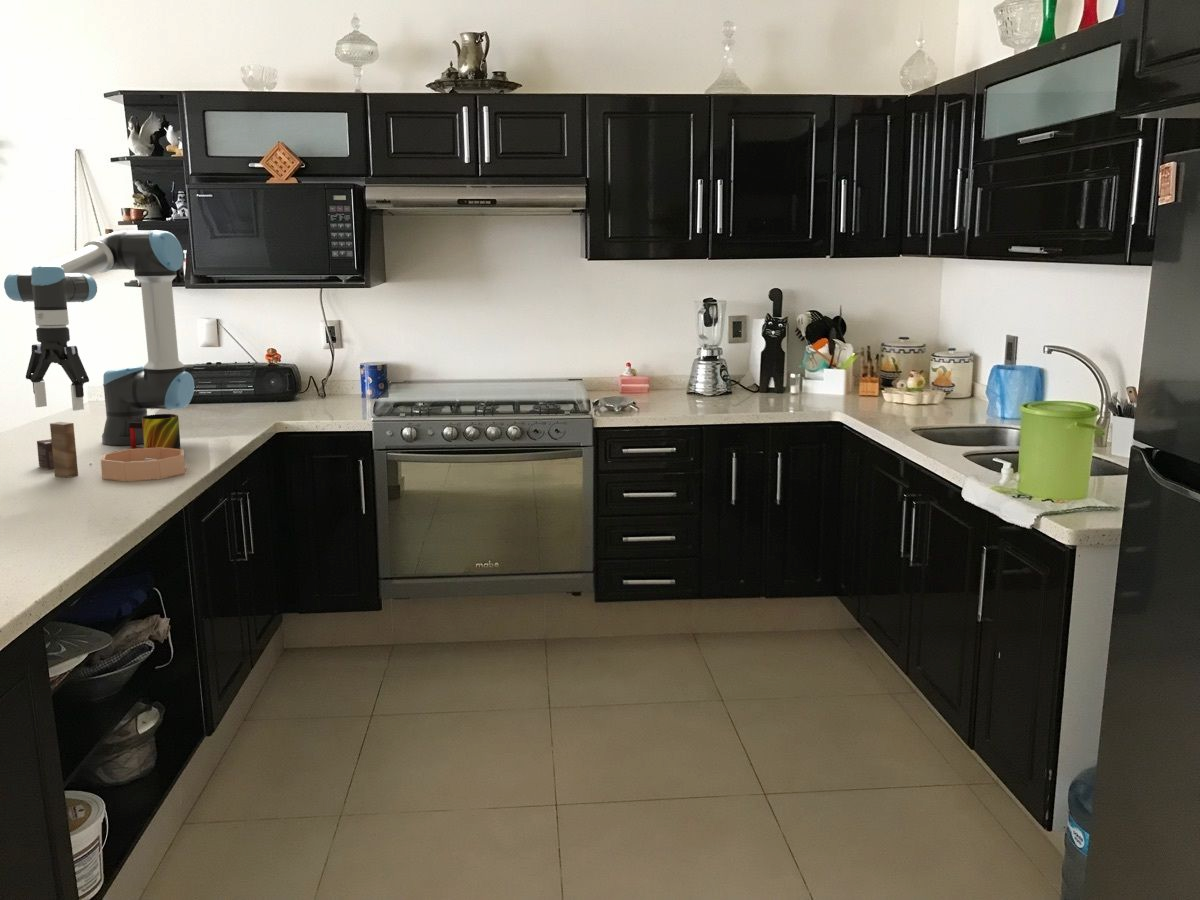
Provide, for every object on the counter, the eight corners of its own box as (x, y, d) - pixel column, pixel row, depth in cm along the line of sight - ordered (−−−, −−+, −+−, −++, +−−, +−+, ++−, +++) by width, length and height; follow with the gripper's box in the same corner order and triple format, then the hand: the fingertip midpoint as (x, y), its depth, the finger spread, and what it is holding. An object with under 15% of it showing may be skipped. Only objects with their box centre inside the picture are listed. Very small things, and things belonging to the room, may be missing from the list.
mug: (132, 455, 296) (128, 415, 294) (183, 453, 300) (180, 413, 298) (126, 462, 287) (123, 420, 285) (179, 459, 291) (176, 418, 289)
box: (61, 463, 285) (59, 437, 283) (71, 466, 281) (68, 440, 280) (38, 466, 280) (36, 440, 279) (48, 469, 276) (45, 443, 275)
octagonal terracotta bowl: (146, 462, 286) (145, 445, 285) (202, 469, 278) (201, 451, 277) (84, 476, 268) (83, 458, 267) (142, 483, 260) (141, 464, 259)
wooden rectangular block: (64, 473, 272) (59, 421, 269) (78, 475, 270) (73, 423, 267) (54, 475, 269) (49, 423, 266) (68, 477, 267) (63, 424, 264)
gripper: (5, 325, 263) (13, 407, 267) (74, 328, 254) (81, 413, 257) (31, 324, 270) (38, 403, 274) (99, 327, 260) (106, 409, 264)
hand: (59, 408), depth 266 cm, fingers open, 13 cm apart
